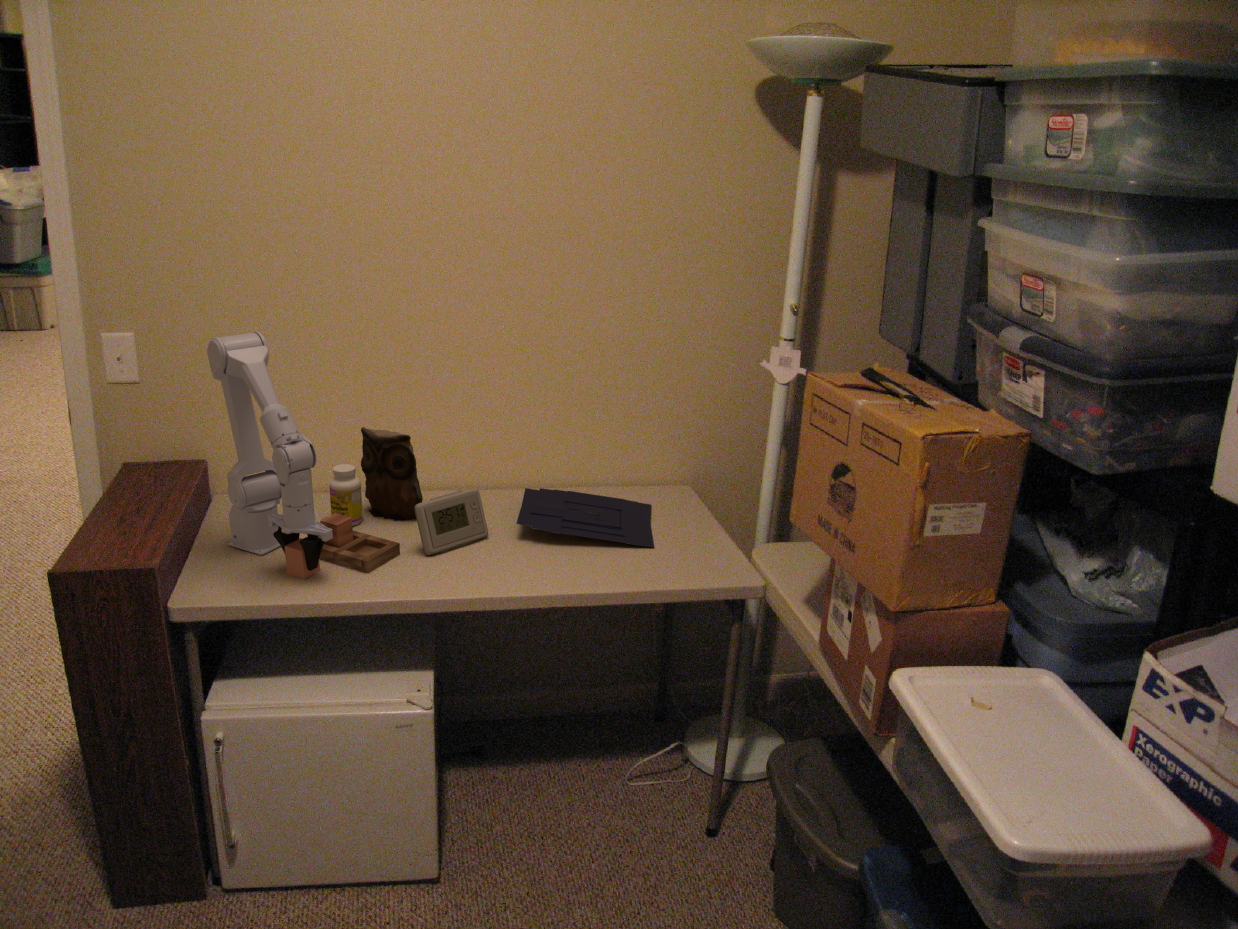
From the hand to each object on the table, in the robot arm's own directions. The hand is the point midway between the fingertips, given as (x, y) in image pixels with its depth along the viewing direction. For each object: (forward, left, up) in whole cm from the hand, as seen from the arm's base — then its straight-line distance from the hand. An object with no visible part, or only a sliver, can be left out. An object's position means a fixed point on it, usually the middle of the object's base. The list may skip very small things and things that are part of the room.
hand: (303, 565), depth 189 cm
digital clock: (+17, +26, -2) cm, 31 cm away
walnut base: (+3, +11, -1) cm, 11 cm away
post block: (0, 0, -1) cm, 1 cm away
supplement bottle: (-9, +23, -2) cm, 25 cm away
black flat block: (+37, +50, -2) cm, 62 cm away
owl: (-3, +34, -2) cm, 34 cm away
